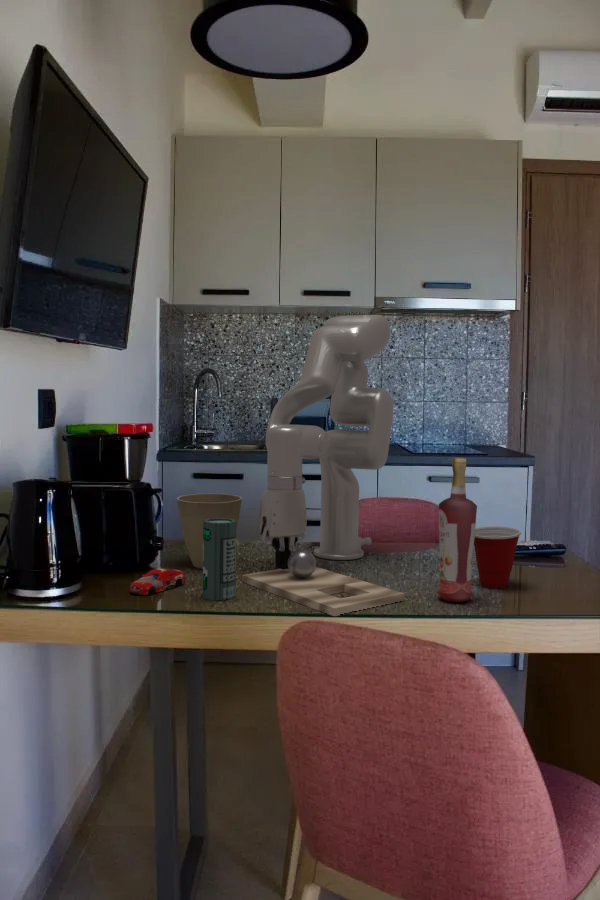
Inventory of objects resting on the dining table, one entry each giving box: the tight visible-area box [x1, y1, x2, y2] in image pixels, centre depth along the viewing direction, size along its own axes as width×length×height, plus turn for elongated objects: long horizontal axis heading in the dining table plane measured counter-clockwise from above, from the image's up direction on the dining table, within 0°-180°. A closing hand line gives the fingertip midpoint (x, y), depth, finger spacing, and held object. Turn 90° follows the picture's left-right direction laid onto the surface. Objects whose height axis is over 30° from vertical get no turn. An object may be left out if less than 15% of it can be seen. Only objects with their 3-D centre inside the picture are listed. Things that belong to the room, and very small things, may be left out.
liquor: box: [436, 457, 478, 604], centre depth 142 cm, size 7×7×28 cm
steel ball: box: [288, 548, 317, 578], centre depth 152 cm, size 6×6×6 cm
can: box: [202, 518, 237, 601], centre depth 142 cm, size 6×6×15 cm
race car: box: [129, 567, 186, 596], centre depth 147 cm, size 13×5×4 cm, turn 146°
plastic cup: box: [473, 525, 522, 589], centre depth 155 cm, size 11×11×12 cm
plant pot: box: [176, 493, 243, 570], centre depth 168 cm, size 15×15×16 cm
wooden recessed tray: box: [241, 566, 405, 617], centre depth 147 cm, size 30×18×2 cm, turn 38°
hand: (282, 567), depth 157 cm, fingers closed
